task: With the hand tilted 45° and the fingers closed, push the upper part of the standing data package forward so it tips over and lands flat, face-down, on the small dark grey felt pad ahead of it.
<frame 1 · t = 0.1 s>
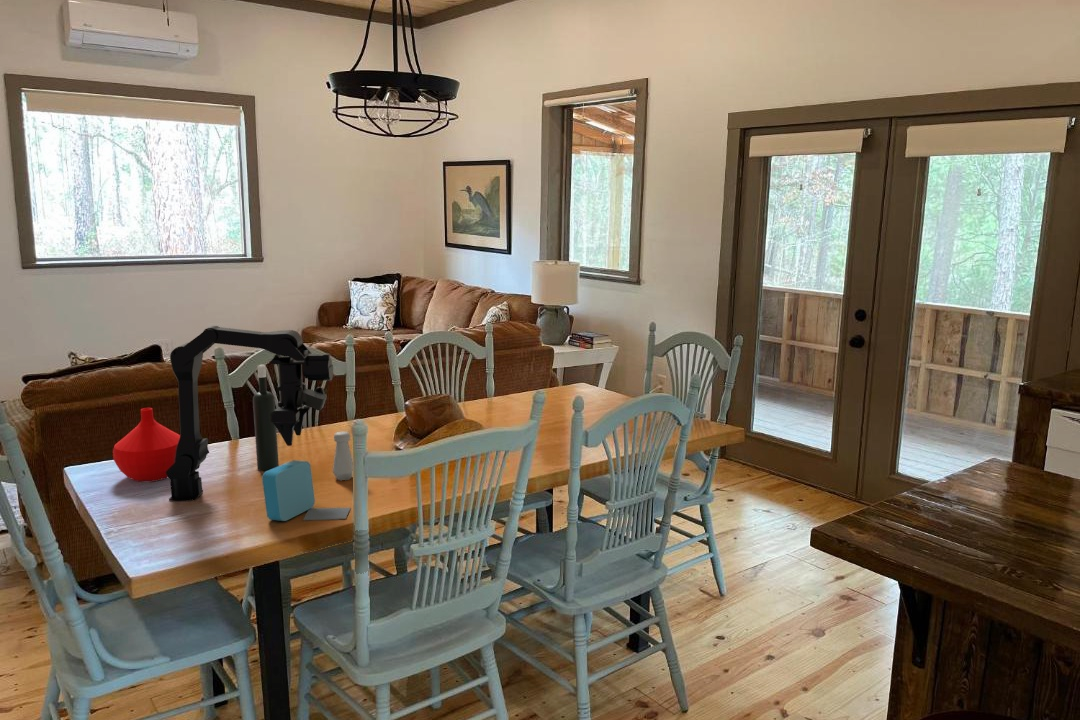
hand: (294, 440, 207), 15 cm above the table, tool pointing down, fingers open, 9 cm apart
wine bottle: (268, 468, 231), on the table
vase: (152, 476, 224), on the table
felt pad: (327, 514, 196), on the table
salt shaker: (344, 478, 222), on the table
data package: (292, 514, 196), on the table, touching felt pad
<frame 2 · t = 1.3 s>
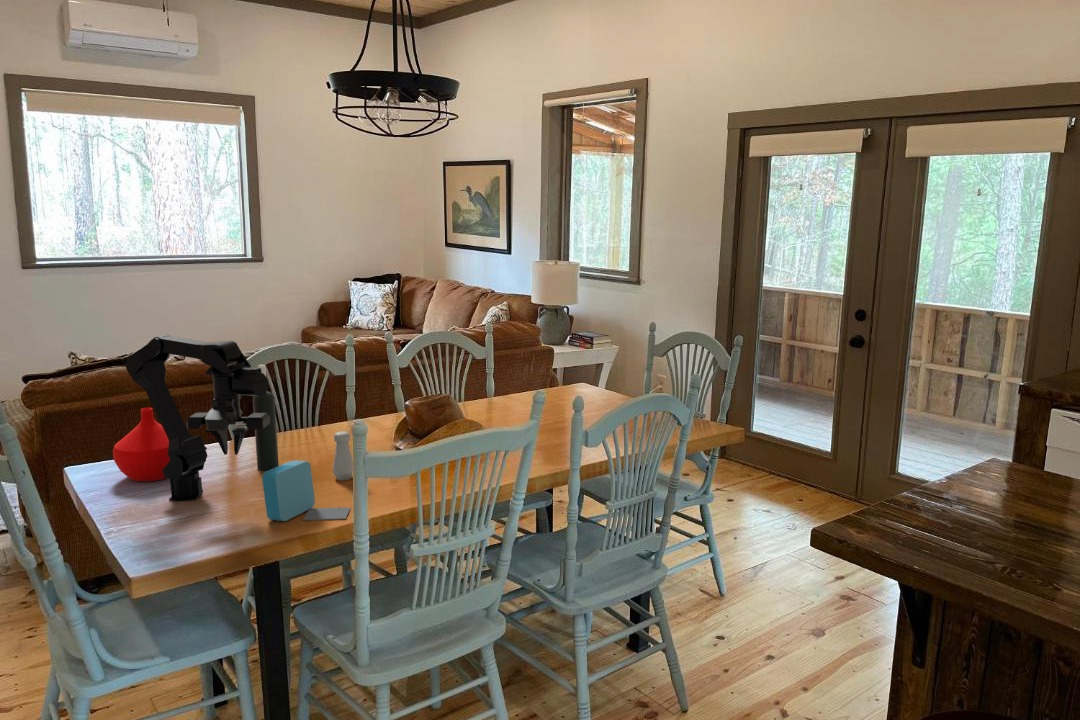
hand: (231, 454, 201), 13 cm above the table, tool pointing down, fingers closed
nothing on the table moved.
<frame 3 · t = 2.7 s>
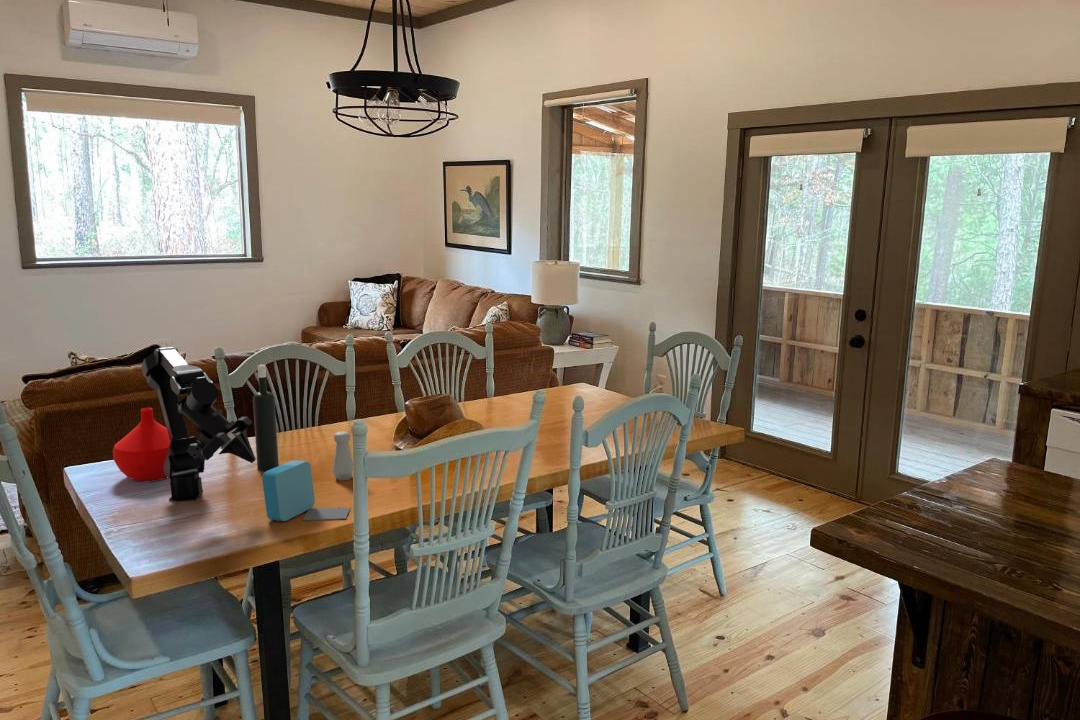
hand: (253, 461, 194), 13 cm above the table, tool tilted 45°, fingers closed
nothing on the table moved.
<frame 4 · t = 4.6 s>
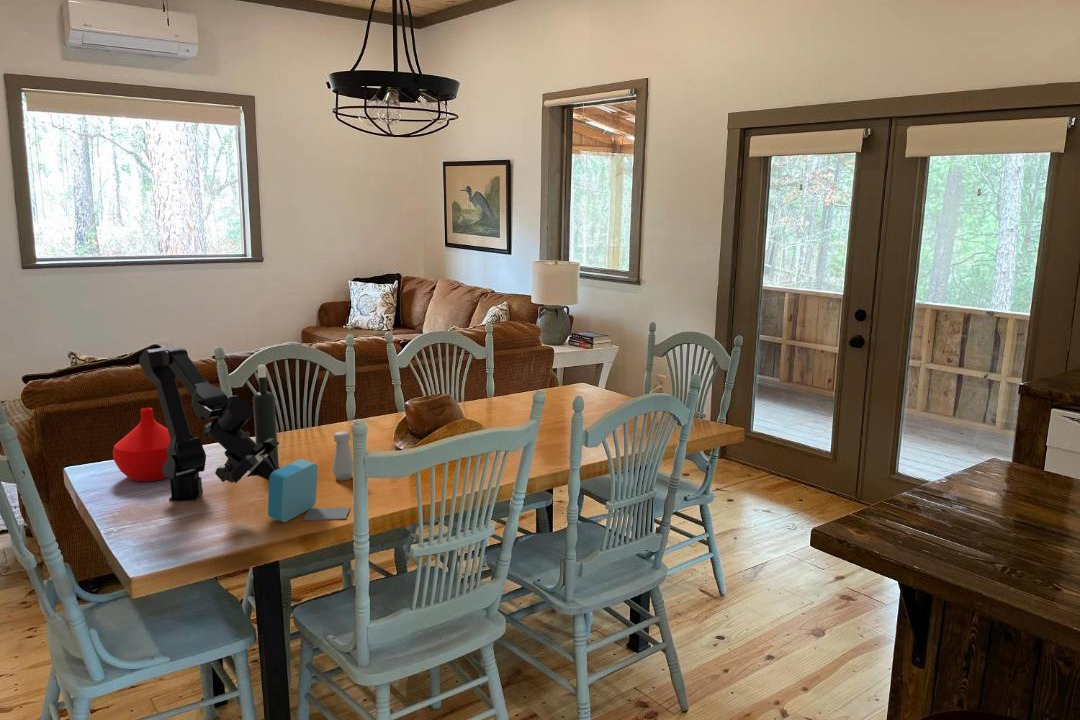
hand: (281, 483, 194), 8 cm above the table, tool tilted 45°, fingers closed
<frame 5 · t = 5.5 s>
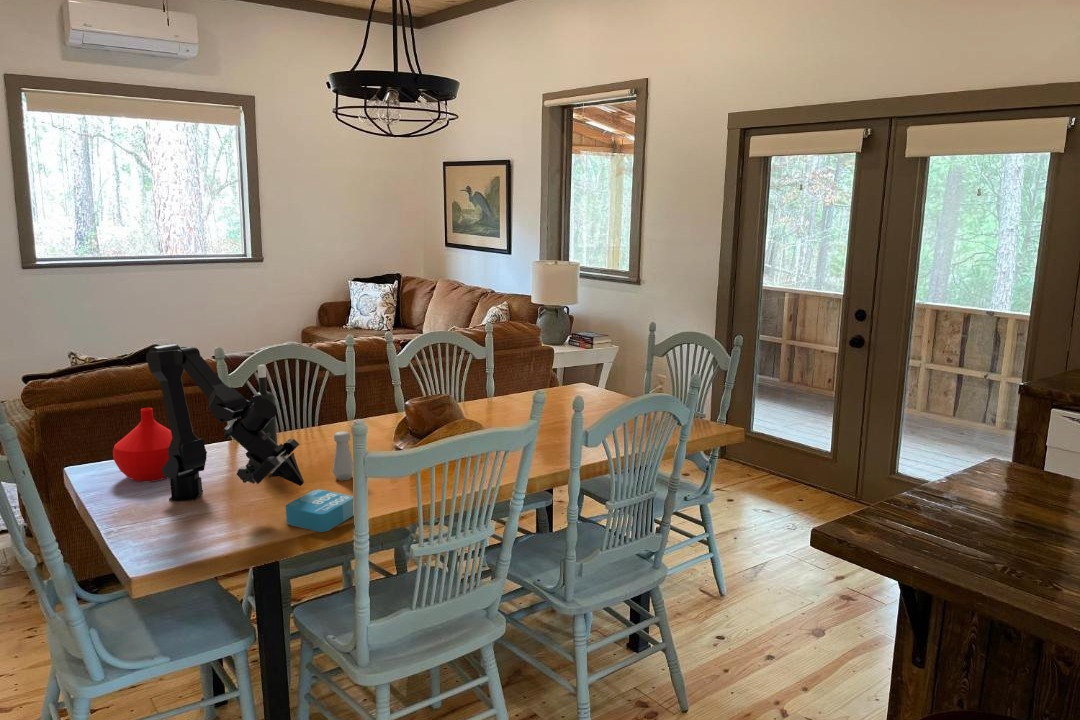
hand: (302, 484, 194), 8 cm above the table, tool tilted 45°, fingers closed
data package: (300, 505, 195), point 3 cm above the table, touching felt pad
everything else where it was.
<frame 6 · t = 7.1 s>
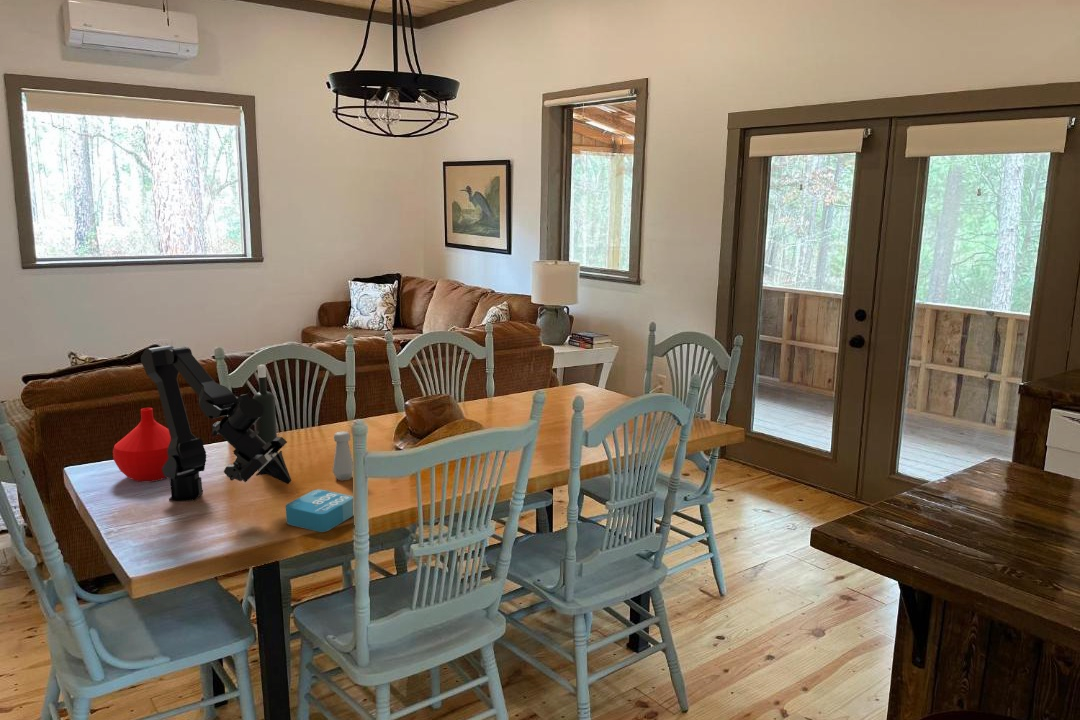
hand: (289, 482, 195), 8 cm above the table, tool tilted 45°, fingers closed
nothing on the table moved.
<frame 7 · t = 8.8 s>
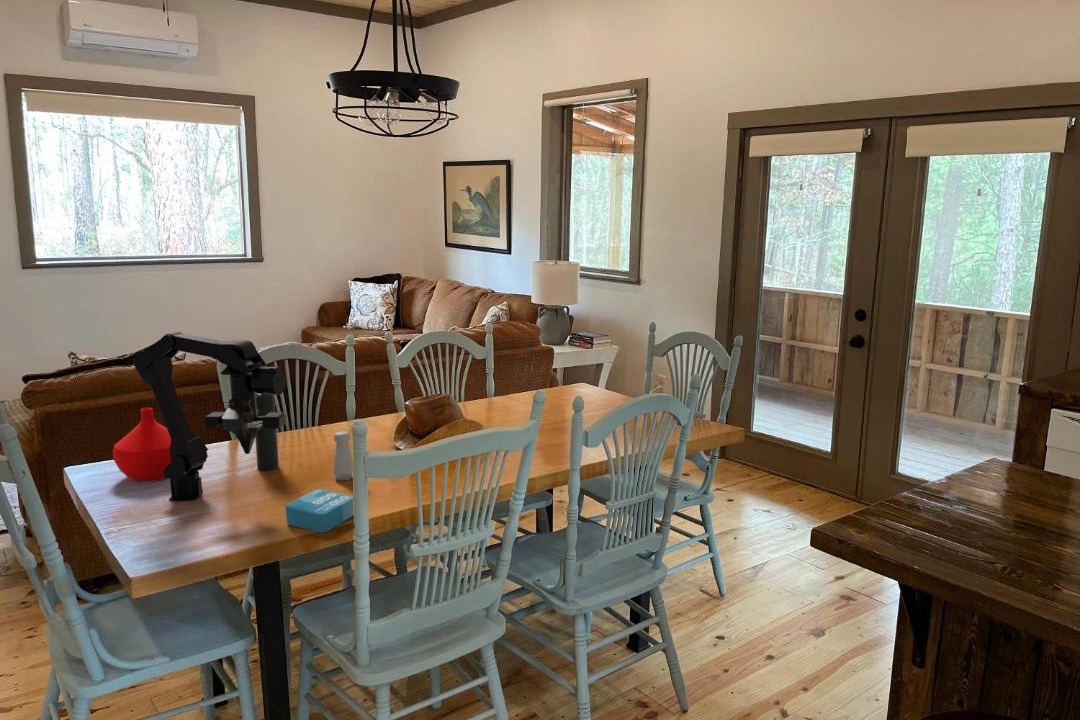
hand: (247, 453, 201), 13 cm above the table, tool pointing down, fingers closed
nothing on the table moved.
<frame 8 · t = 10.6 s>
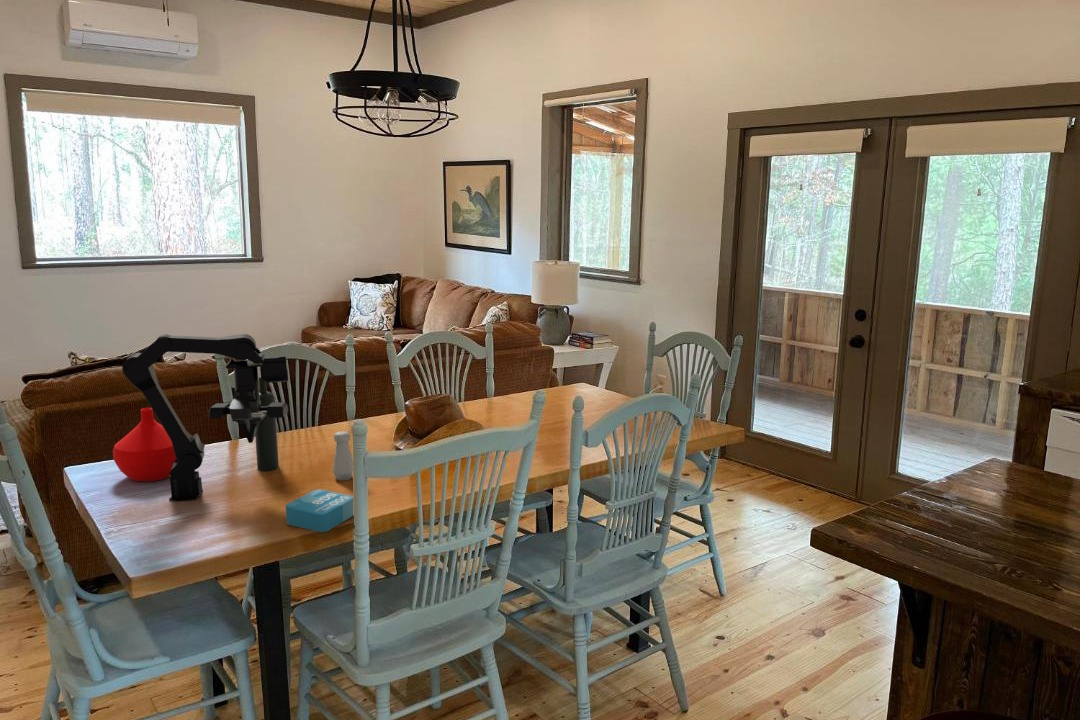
hand: (250, 442, 211), 13 cm above the table, tool pointing down, fingers closed
nothing on the table moved.
at the end: data package tilted 91°; data package inside the target area (5.8 cm from its centre), point 2.7 cm above the table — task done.
